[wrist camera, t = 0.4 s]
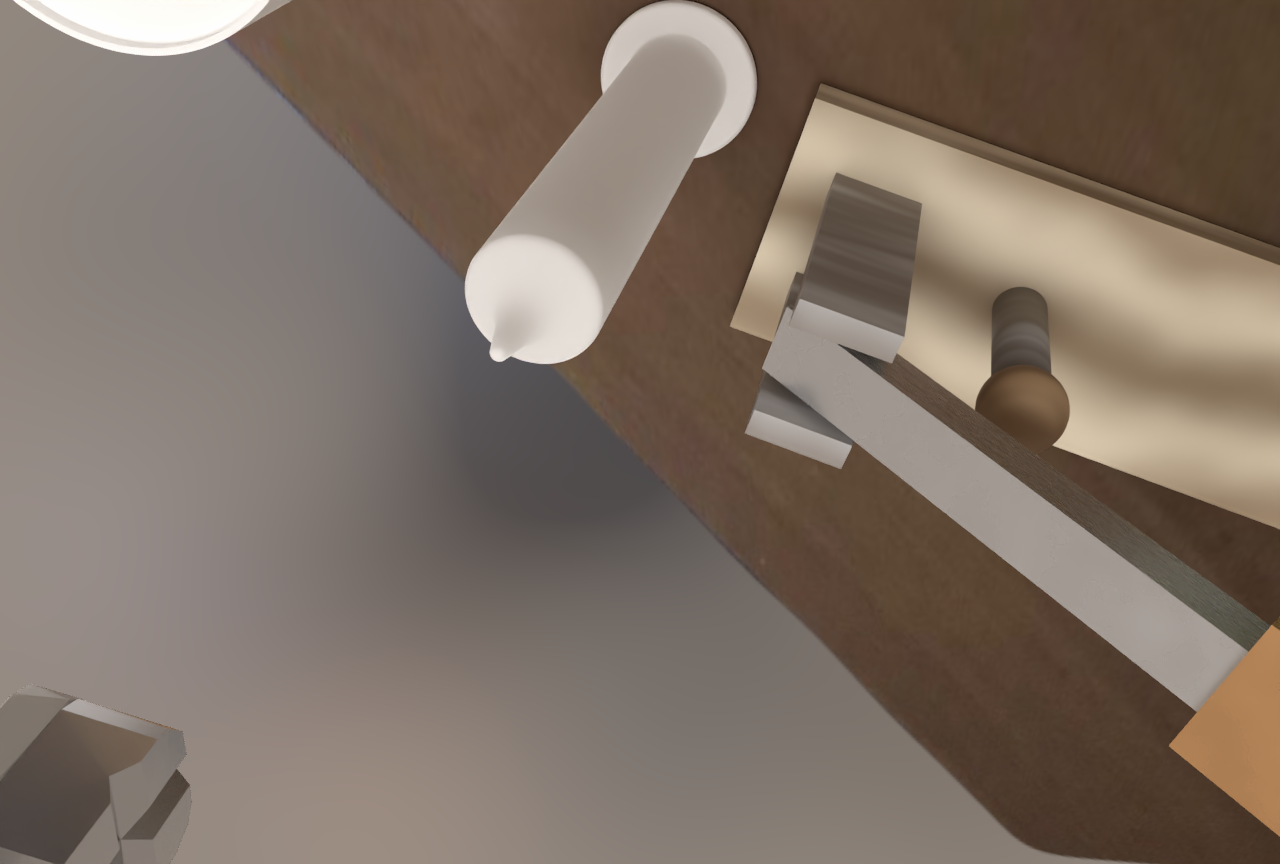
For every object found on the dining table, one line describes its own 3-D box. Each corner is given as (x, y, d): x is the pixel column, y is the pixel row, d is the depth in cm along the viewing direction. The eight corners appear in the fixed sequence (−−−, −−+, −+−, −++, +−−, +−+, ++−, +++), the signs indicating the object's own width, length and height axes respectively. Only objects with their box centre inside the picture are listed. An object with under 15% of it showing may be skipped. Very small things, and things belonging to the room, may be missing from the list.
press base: (820, 82, 54) (772, 212, 43) (1433, 303, 53) (1549, 495, 42) (737, 307, 61) (676, 468, 50) (1274, 504, 60) (1337, 715, 49)
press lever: (831, 263, 47) (793, 276, 46) (1501, 738, 35) (1480, 777, 34) (781, 384, 51) (743, 400, 49) (1373, 853, 39) (1349, 893, 37)
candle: (746, 166, 57) (606, 478, 37) (599, 140, 58) (385, 431, 38) (768, 12, 53) (624, 269, 33) (609, -13, 54) (375, 222, 34)
